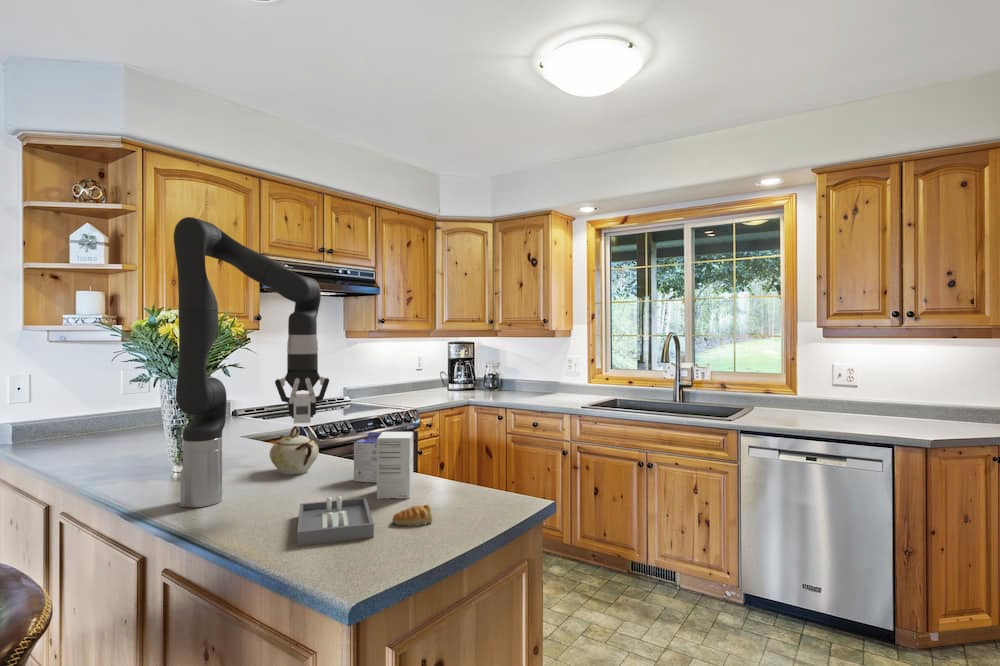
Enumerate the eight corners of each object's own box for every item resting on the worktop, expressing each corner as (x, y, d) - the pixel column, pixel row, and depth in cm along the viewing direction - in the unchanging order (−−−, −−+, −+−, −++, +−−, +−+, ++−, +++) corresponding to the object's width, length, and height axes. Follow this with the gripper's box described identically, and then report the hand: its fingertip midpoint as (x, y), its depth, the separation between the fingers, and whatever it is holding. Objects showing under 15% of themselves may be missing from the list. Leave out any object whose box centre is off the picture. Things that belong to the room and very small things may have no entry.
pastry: (395, 530, 126) (395, 513, 126) (389, 520, 132) (389, 505, 132) (434, 524, 129) (434, 508, 129) (427, 515, 136) (427, 500, 136)
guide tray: (297, 546, 116) (297, 522, 116) (300, 515, 135) (300, 495, 134) (373, 537, 121) (373, 514, 121) (366, 509, 140) (366, 489, 140)
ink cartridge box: (390, 478, 168) (390, 432, 168) (383, 483, 163) (383, 435, 163) (361, 477, 170) (361, 431, 170) (353, 481, 165) (353, 434, 165)
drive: (293, 423, 137) (293, 398, 137) (295, 418, 146) (295, 393, 146) (310, 422, 138) (310, 397, 138) (310, 417, 147) (310, 393, 147)
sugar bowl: (331, 472, 175) (331, 426, 175) (287, 482, 164) (287, 432, 164) (300, 462, 188) (300, 419, 188) (257, 471, 177) (258, 425, 177)
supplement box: (381, 489, 157) (381, 431, 157) (413, 488, 158) (413, 431, 158) (376, 499, 148) (376, 437, 148) (410, 498, 148) (410, 437, 148)
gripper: (272, 353, 136) (272, 421, 136) (331, 352, 141) (331, 418, 141) (274, 351, 144) (274, 416, 144) (330, 351, 148) (330, 413, 148)
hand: (302, 416), depth 142 cm, fingers closed on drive, 4 cm apart
